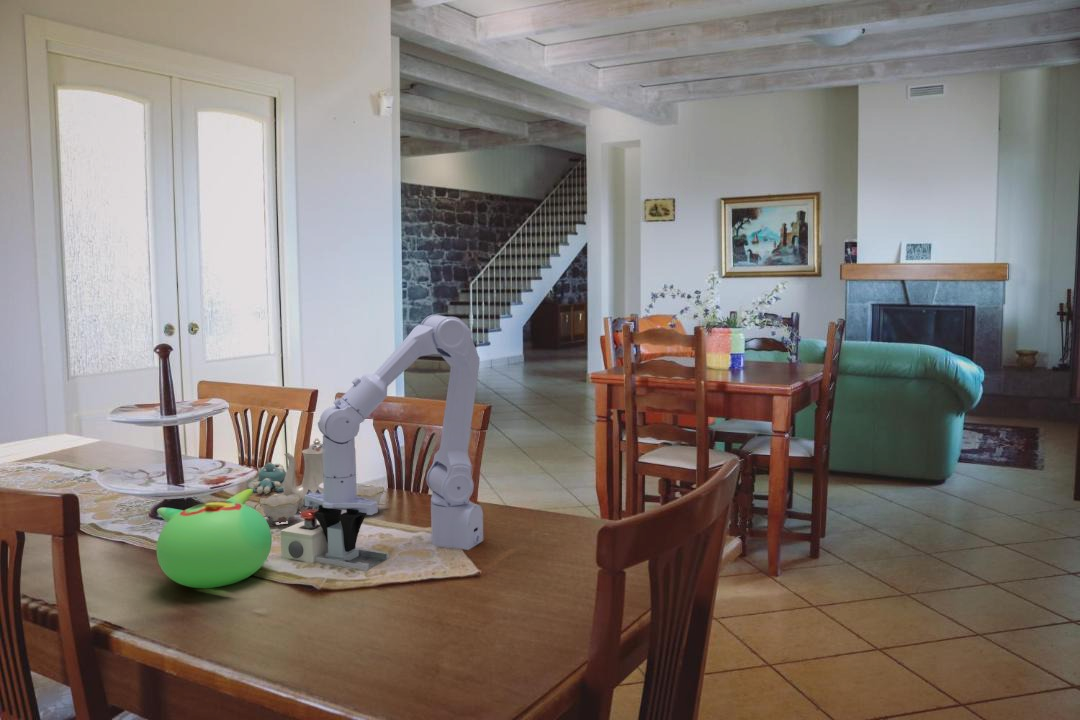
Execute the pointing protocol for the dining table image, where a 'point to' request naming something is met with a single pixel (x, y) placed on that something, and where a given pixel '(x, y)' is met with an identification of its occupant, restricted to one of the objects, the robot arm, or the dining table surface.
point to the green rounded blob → (213, 542)
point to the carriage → (338, 544)
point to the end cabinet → (303, 543)
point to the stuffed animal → (268, 479)
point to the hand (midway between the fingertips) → (341, 548)
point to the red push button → (309, 519)
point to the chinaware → (306, 487)
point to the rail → (355, 563)
